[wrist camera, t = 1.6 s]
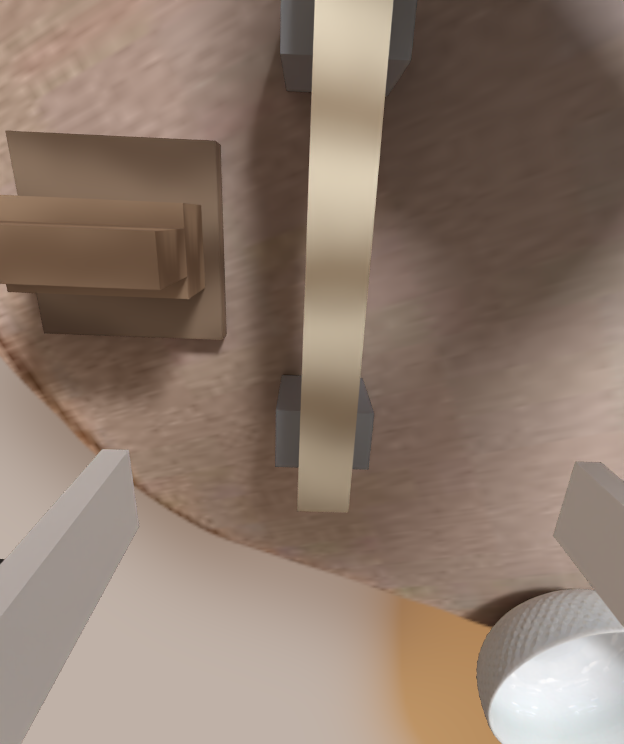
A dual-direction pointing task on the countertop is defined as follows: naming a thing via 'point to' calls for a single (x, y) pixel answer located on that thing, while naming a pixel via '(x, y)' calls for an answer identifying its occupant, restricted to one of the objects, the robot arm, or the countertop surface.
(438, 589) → the countertop surface
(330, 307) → the wooden bar
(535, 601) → the cereal bowl
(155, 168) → the ridge stand
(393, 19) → the bar rest
